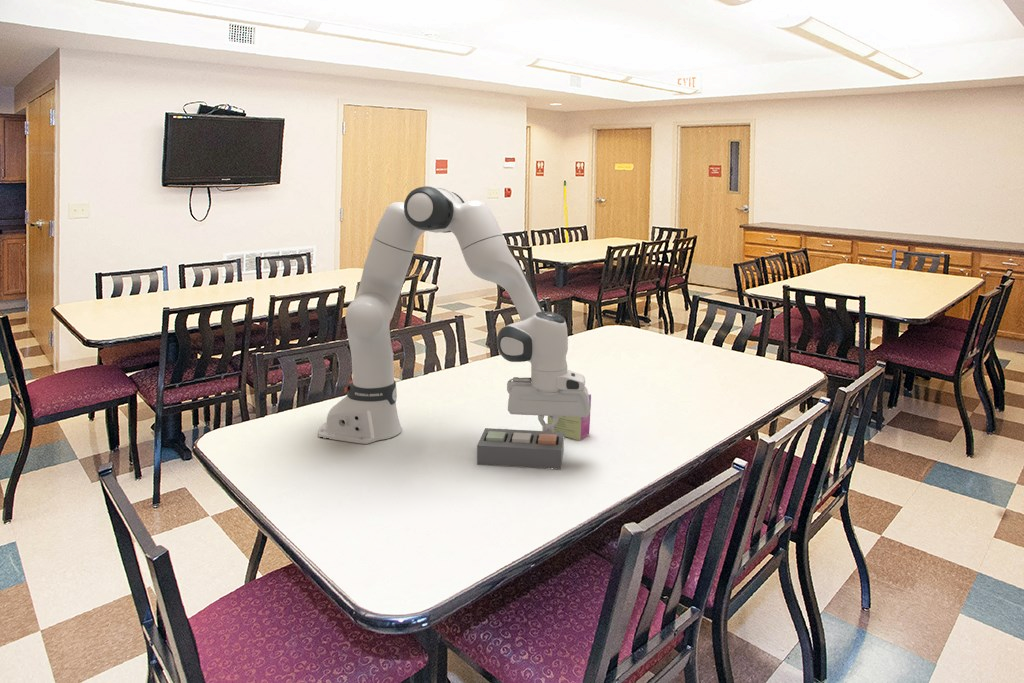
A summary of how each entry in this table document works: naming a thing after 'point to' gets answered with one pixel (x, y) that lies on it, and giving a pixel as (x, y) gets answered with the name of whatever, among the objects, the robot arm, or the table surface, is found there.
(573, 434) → the box
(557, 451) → the keyboard
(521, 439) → the key grey
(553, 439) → the key terracotta
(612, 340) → the table surface
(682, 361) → the table surface
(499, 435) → the key sage
